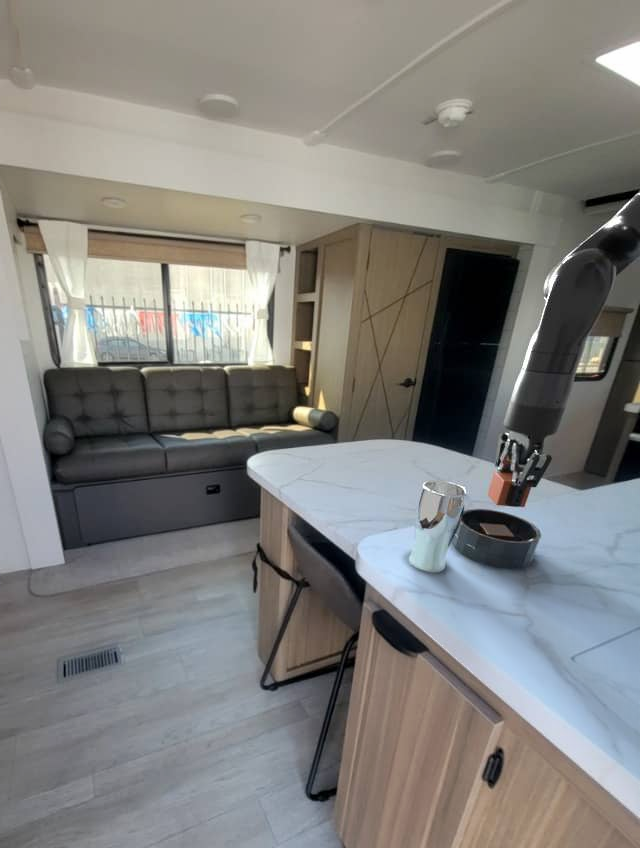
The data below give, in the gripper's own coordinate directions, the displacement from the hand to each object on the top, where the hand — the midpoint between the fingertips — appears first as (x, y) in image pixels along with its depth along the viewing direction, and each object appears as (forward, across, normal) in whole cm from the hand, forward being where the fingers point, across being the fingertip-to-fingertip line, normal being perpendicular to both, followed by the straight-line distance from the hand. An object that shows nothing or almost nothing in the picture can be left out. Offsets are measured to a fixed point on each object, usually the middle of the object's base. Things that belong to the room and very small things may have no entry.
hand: (505, 499), depth 71 cm
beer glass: (+11, -7, +13) cm, 19 cm away
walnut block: (+11, 0, 0) cm, 11 cm away
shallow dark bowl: (+11, 0, 0) cm, 11 cm away
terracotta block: (0, 0, 0) cm, 0 cm away
